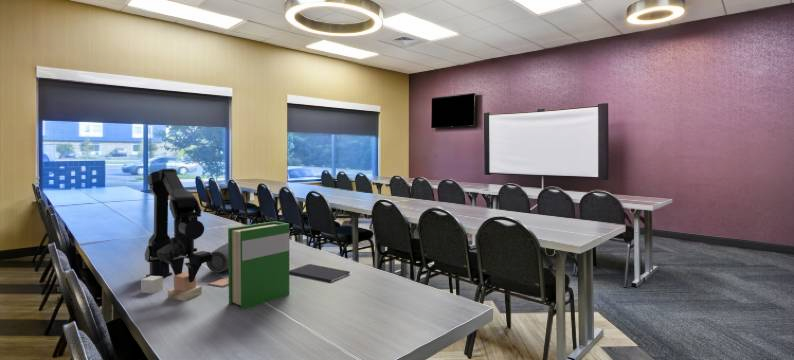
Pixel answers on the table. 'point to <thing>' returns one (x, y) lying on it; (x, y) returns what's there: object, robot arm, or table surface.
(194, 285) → the terracotta cube
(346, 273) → the notebook
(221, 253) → the bluetooth speaker
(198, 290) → the maple base block
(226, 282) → the tile
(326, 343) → the table surface
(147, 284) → the offwhite cube
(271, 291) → the hardback book
